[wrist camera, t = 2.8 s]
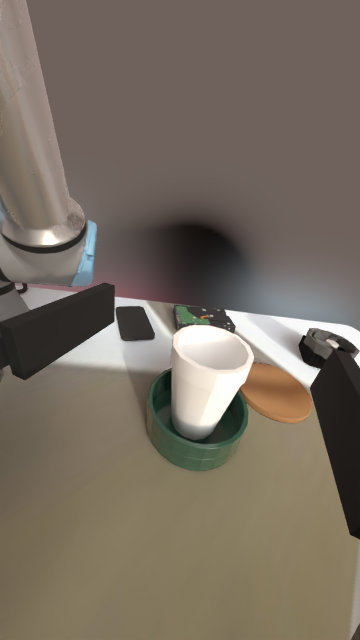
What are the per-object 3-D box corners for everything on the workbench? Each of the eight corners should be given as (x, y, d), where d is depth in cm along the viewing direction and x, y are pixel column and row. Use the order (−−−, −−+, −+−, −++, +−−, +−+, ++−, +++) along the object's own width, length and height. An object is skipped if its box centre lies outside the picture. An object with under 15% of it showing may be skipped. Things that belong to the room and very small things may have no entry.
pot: (145, 385, 35) (147, 364, 33) (220, 384, 38) (226, 365, 36) (147, 477, 23) (150, 453, 21) (255, 465, 26) (267, 443, 24)
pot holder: (225, 366, 42) (226, 362, 42) (281, 366, 45) (283, 362, 45) (255, 425, 31) (258, 421, 31) (327, 420, 34) (330, 416, 34)
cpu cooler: (368, 360, 42) (313, 344, 44) (352, 381, 45) (302, 365, 47) (349, 335, 51) (304, 323, 53) (337, 354, 53) (295, 342, 56)
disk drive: (221, 316, 63) (172, 312, 60) (223, 308, 62) (173, 303, 59) (233, 335, 54) (177, 332, 51) (236, 326, 53) (179, 322, 50)
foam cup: (212, 391, 36) (233, 326, 29) (235, 446, 28) (270, 372, 22) (156, 394, 33) (166, 324, 27) (164, 455, 25) (181, 375, 19)
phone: (121, 338, 44) (115, 306, 56) (121, 342, 44) (115, 309, 56) (156, 336, 47) (142, 306, 59) (155, 339, 47) (142, 308, 59)
